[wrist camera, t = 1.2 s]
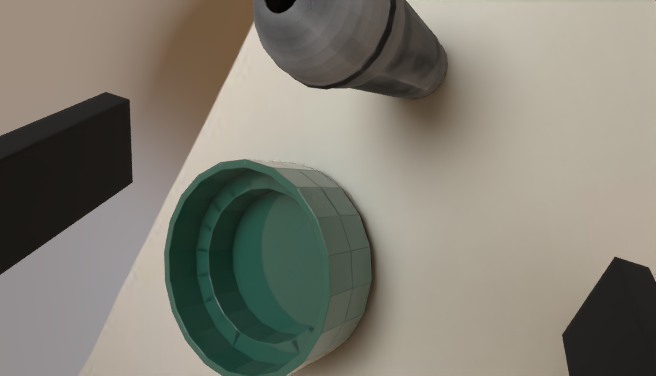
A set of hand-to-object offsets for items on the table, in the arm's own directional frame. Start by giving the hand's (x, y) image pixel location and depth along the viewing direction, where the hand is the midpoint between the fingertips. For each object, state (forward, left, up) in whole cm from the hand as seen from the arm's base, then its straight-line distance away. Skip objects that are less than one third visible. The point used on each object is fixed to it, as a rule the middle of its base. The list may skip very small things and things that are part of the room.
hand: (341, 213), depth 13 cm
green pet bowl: (+10, -15, -21) cm, 27 cm away
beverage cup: (-7, -8, -21) cm, 24 cm away
